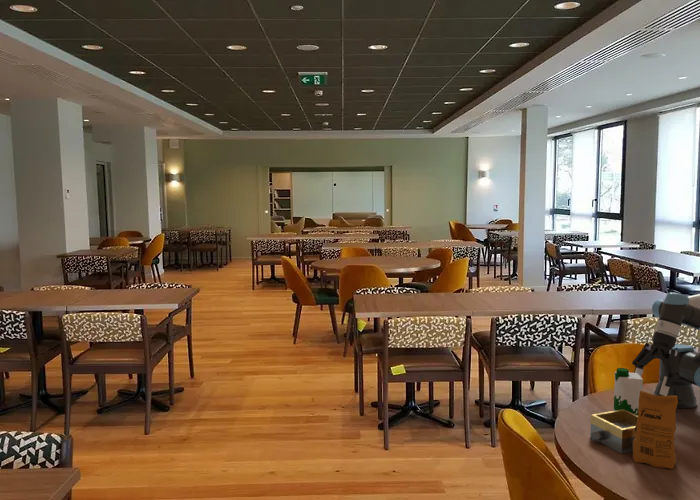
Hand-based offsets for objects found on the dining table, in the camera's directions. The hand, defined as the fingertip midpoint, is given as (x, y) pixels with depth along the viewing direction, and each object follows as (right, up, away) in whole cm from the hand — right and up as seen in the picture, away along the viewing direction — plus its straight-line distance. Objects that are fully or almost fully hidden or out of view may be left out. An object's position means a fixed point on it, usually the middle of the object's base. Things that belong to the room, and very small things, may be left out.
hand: (648, 390), depth 216 cm
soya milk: (-7, -13, +2) cm, 15 cm away
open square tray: (-17, -14, -15) cm, 27 cm away
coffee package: (-12, -16, -28) cm, 35 cm away
